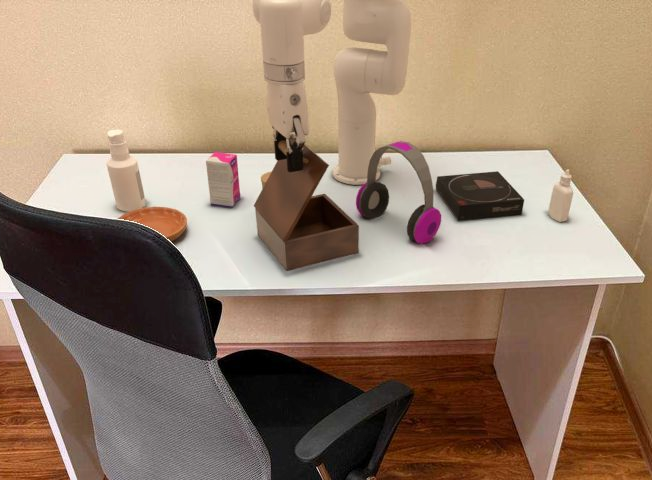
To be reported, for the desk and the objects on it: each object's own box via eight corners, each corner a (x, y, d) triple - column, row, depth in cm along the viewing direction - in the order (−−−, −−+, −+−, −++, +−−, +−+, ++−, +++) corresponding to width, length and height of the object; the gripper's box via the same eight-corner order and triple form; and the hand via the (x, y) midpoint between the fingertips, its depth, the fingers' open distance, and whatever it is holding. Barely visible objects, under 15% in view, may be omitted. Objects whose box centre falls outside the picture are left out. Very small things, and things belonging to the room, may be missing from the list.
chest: (325, 222, 155) (324, 193, 150) (358, 256, 143) (359, 225, 139) (257, 238, 148) (255, 208, 144) (286, 274, 137) (284, 243, 132)
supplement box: (233, 208, 159) (228, 163, 152) (210, 205, 160) (203, 160, 153) (241, 198, 164) (237, 153, 156) (219, 195, 164) (213, 151, 157)
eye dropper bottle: (565, 212, 162) (576, 165, 154) (567, 223, 157) (578, 175, 150) (547, 210, 162) (557, 164, 154) (548, 221, 158) (558, 174, 150)
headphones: (443, 238, 150) (452, 154, 138) (417, 252, 145) (424, 165, 133) (377, 207, 161) (380, 126, 149) (352, 219, 156) (352, 136, 144)
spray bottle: (152, 202, 160) (137, 129, 149) (133, 214, 156) (116, 140, 144) (130, 196, 163) (113, 124, 151) (110, 208, 158) (92, 134, 146)
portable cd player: (494, 184, 173) (497, 170, 170) (521, 214, 160) (524, 199, 158) (435, 190, 170) (436, 175, 167) (457, 221, 157) (459, 205, 154)
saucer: (144, 212, 157) (142, 200, 155) (202, 225, 152) (200, 213, 150) (99, 243, 145) (96, 231, 143) (161, 258, 141) (158, 246, 139)
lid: (294, 135, 138) (273, 123, 135) (329, 165, 127) (306, 153, 123) (256, 207, 144) (234, 197, 140) (286, 241, 132) (263, 233, 129)
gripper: (322, 81, 117) (324, 178, 128) (285, 56, 128) (290, 147, 140) (282, 86, 114) (288, 184, 125) (248, 60, 125) (256, 152, 137)
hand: (289, 163), depth 132 cm, fingers closed on lid, 5 cm apart
